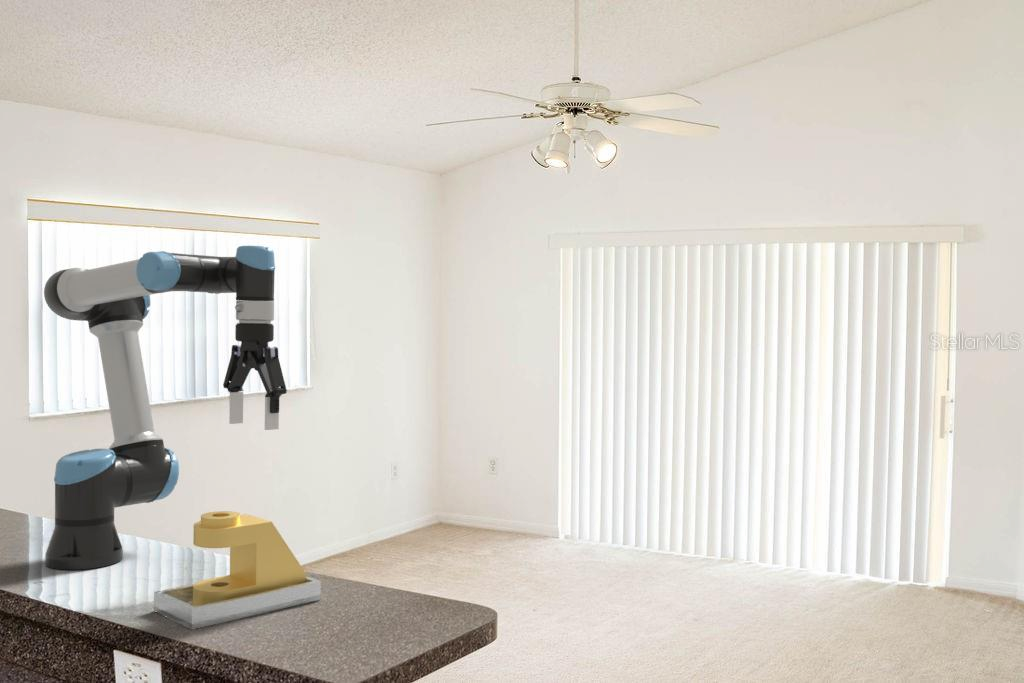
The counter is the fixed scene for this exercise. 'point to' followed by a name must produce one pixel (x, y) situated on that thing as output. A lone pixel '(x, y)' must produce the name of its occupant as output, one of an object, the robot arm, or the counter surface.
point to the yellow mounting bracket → (245, 557)
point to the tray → (231, 604)
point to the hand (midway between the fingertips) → (253, 426)
